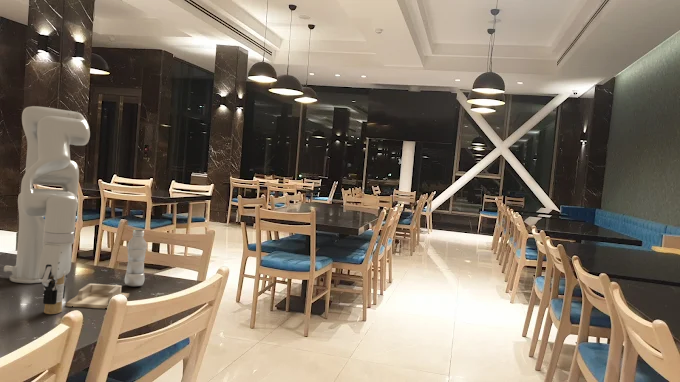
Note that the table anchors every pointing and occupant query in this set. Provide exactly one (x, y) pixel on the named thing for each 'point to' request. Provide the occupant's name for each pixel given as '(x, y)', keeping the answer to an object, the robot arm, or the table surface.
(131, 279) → the plastic bottle
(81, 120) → the robot arm
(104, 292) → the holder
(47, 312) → the sprinkles bottle
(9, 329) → the table surface
